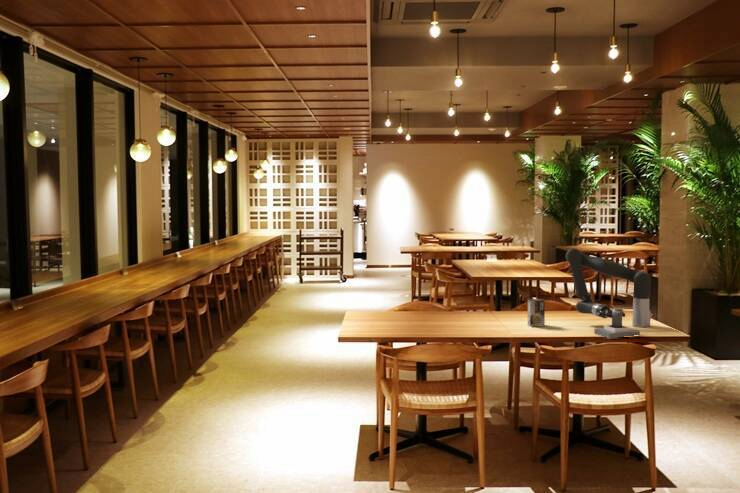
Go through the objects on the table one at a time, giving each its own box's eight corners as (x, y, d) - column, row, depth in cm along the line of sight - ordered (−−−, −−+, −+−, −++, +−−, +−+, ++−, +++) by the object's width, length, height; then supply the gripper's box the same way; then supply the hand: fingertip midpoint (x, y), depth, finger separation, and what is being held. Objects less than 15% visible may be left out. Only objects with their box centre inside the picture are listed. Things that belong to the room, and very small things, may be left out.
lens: (617, 328, 399) (618, 308, 398) (623, 330, 394) (624, 309, 393) (609, 329, 397) (610, 308, 396) (615, 331, 392) (616, 310, 391)
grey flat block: (623, 331, 405) (624, 323, 405) (639, 336, 392) (639, 327, 391) (594, 333, 400) (594, 325, 399) (609, 338, 386) (609, 330, 386)
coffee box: (541, 324, 427) (542, 298, 425) (544, 326, 420) (545, 300, 419) (527, 324, 427) (527, 298, 425) (529, 326, 420) (530, 300, 419)
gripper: (590, 305, 407) (607, 309, 391) (611, 303, 411) (629, 308, 396) (590, 317, 408) (607, 322, 392) (611, 316, 412) (628, 321, 396)
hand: (618, 315), depth 394 cm, fingers open, 8 cm apart
